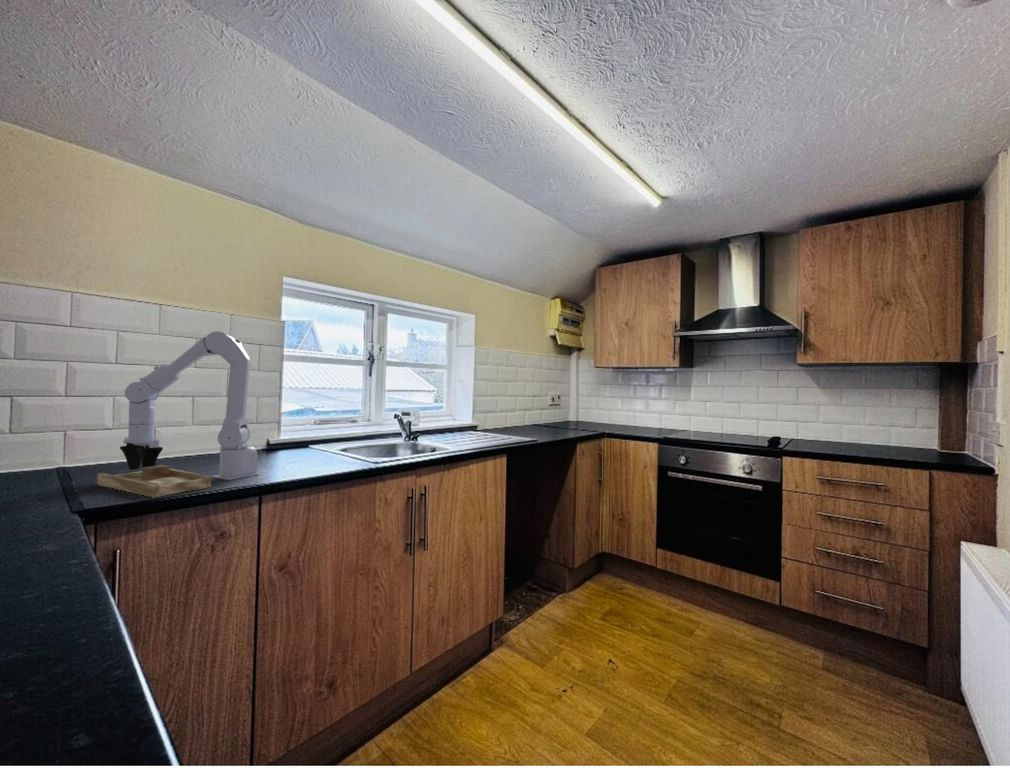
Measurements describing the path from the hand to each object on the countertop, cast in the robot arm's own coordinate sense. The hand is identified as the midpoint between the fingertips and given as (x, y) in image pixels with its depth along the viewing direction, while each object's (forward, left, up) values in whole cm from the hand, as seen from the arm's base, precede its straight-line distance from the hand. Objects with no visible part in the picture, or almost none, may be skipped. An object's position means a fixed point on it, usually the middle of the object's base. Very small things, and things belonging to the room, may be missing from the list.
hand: (140, 470), depth 124 cm
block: (0, +8, -1) cm, 8 cm away
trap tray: (+2, +11, -3) cm, 12 cm away
